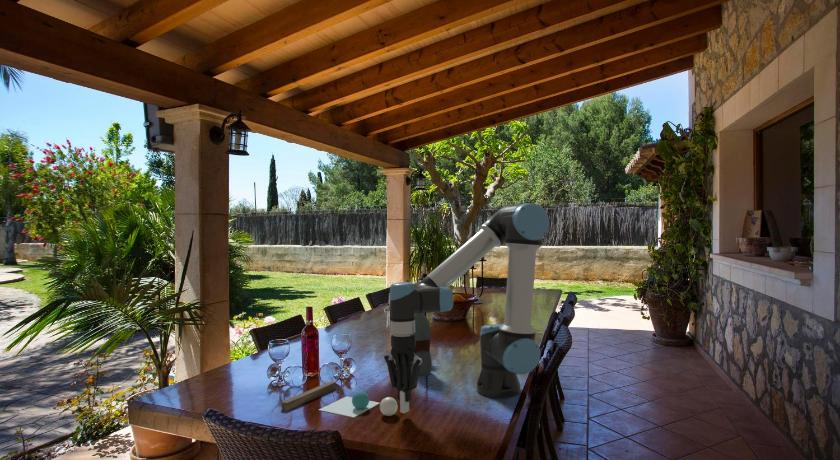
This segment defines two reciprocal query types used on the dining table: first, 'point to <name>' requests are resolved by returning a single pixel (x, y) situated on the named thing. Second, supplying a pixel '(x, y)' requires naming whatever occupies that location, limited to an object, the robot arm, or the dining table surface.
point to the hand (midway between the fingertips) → (404, 411)
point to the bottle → (422, 343)
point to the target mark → (347, 407)
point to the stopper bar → (308, 395)
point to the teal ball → (360, 400)
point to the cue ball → (388, 406)
